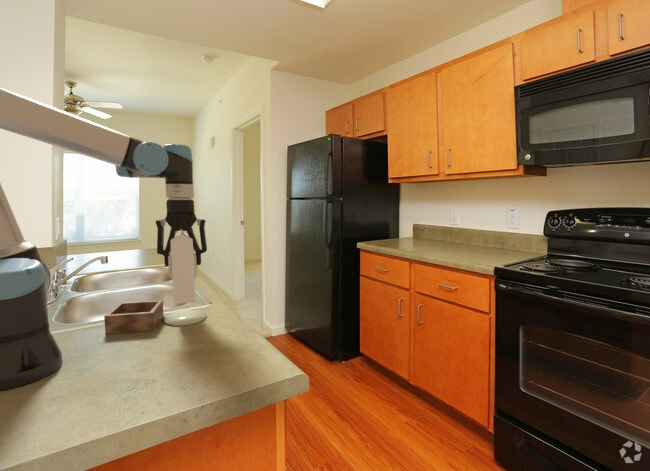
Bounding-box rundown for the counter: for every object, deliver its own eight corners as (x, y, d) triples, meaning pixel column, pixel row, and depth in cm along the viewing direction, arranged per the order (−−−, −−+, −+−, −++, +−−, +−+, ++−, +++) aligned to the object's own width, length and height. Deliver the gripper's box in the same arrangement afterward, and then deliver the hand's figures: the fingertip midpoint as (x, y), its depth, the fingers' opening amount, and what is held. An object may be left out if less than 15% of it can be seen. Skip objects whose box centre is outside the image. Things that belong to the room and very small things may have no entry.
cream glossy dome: (159, 327, 98) (159, 325, 98) (168, 313, 110) (168, 311, 110) (203, 324, 101) (203, 322, 101) (208, 310, 113) (208, 309, 113)
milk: (173, 304, 101) (169, 229, 99) (175, 298, 107) (171, 227, 104) (195, 302, 103) (191, 228, 101) (196, 296, 109) (192, 226, 106)
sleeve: (105, 333, 94) (104, 316, 93) (120, 318, 105) (119, 302, 105) (153, 330, 96) (152, 312, 96) (163, 315, 108) (162, 300, 107)
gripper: (140, 199, 96) (145, 281, 98) (213, 199, 100) (216, 277, 103) (147, 199, 103) (152, 275, 106) (215, 198, 107) (218, 272, 110)
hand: (183, 276), depth 104 cm, fingers closed on milk, 6 cm apart
